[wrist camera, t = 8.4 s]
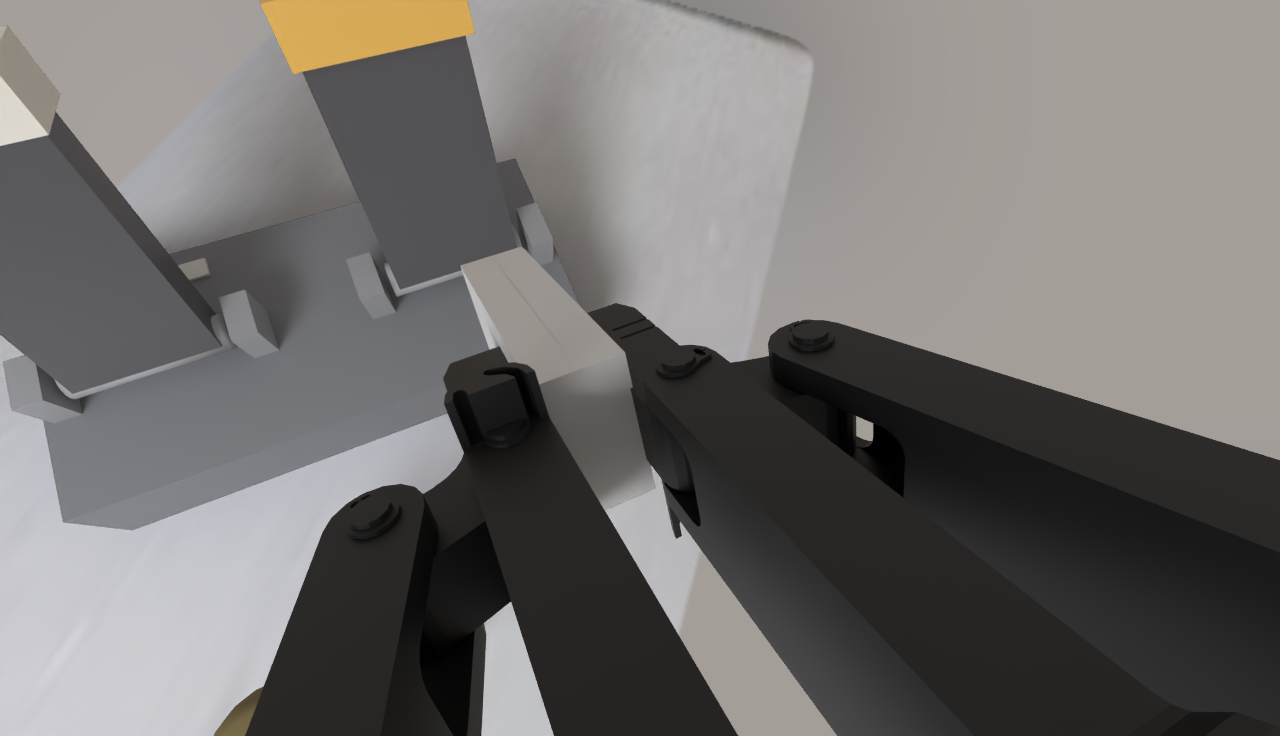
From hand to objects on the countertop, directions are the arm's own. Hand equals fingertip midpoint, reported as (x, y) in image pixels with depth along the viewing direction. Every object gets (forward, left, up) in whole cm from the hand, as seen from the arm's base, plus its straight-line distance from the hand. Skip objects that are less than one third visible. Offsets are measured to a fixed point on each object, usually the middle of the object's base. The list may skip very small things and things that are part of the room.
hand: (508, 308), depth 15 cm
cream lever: (-15, +11, -17) cm, 25 cm away
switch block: (-8, +11, -23) cm, 27 cm away
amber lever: (0, +11, -17) cm, 20 cm away
